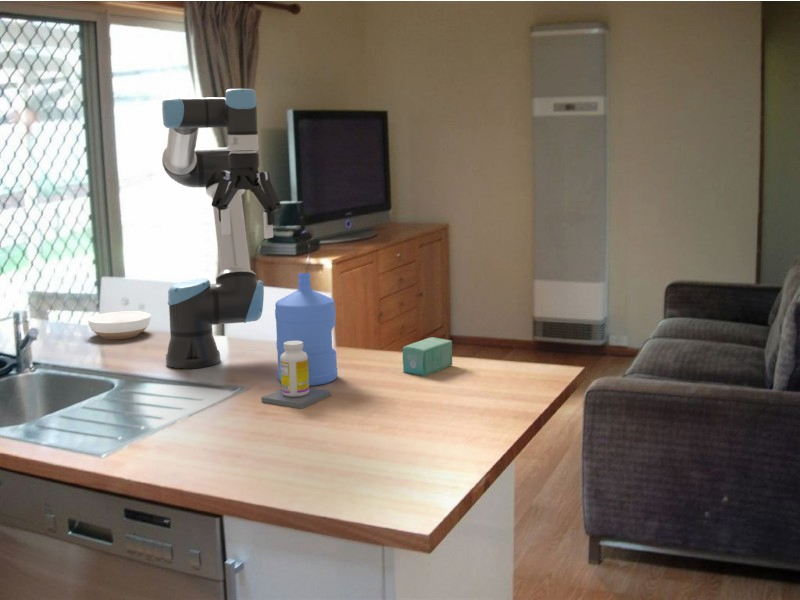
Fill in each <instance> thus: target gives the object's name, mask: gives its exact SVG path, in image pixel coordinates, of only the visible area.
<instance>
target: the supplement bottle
mask: <svg viewBox="0 0 800 600" xmlns="http://www.w3.org/2000/svg"><path fill="white" fill-rule="evenodd" d="M284 349H285V352H284V353H282V355H281V356H280V363H281V381H280V384H281V389H282V393H283V395H285V396H288V397H300V396H304V395H306V394H308V393H309V388H310V386H309V373H308V356H307V354H306V353H305V352H304V351H303V350H302V349H303V342H302V341H287V342H284Z"/></svg>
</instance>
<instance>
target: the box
mask: <svg viewBox="0 0 800 600" xmlns="http://www.w3.org/2000/svg"><path fill="white" fill-rule="evenodd" d="M448 366H449V367H451V366H453V341H452V340H450V339H445V338H438V337H434V336H432V337H428V338H424V339H422V340H419V341H416V342H412V343H410V344H407V345H405V346H403V348H402V367H403V368H402V371H403V373H405V374H412V375H417V376H422V377H425V376H429V375H431V373H432V374H435V373H436V371H437V372H439V371H438V370H440V371H441V369H442V370H444V369H446V367H447V368H448Z"/></svg>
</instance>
